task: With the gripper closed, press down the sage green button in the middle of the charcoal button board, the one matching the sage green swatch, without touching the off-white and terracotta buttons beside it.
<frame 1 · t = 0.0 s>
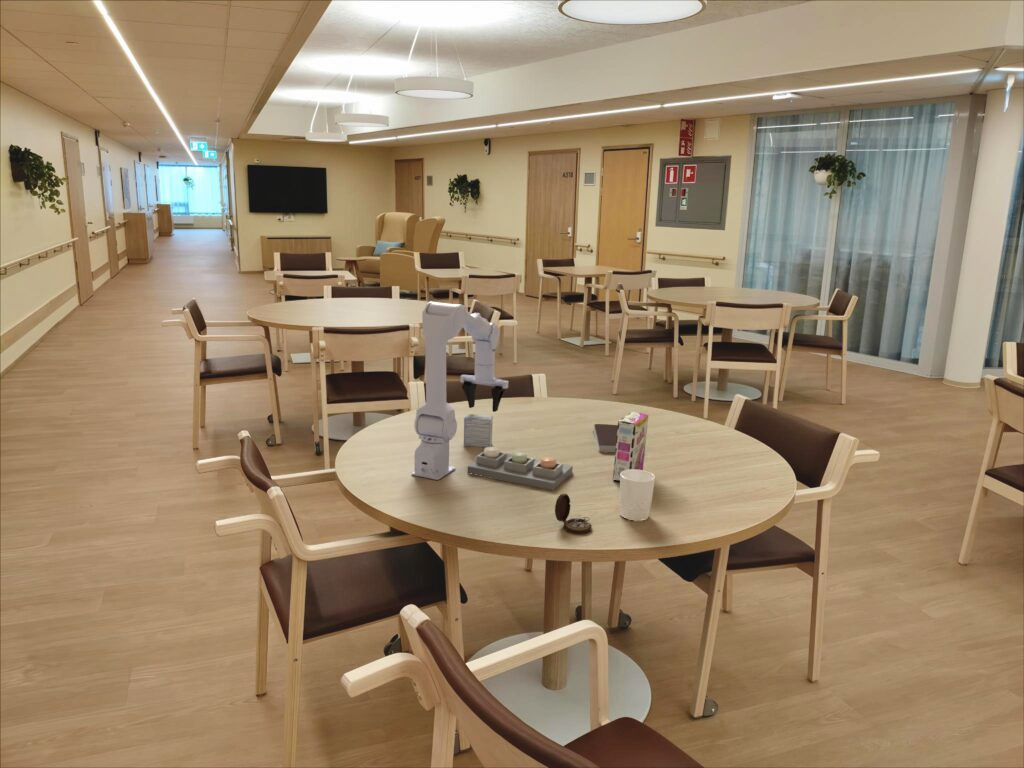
hand: (483, 409, 219), 10 cm above the table, tool pointing down, fingers open, 7 cm apart
off-white button: (491, 452, 198), point 4 cm above the table, slide at 0.0 cm
book: (615, 444, 226), on the table
button board: (520, 473, 197), on the table
white cup: (634, 516, 174), on the table
sage green button: (519, 458, 195), point 4 cm above the table, slide at 0.0 cm
medicine box: (477, 445, 219), on the table
compass: (576, 527, 167), on the table
candy bar box: (628, 477, 198), on the table
terracotta button: (547, 463, 192), point 4 cm above the table, slide at 0.0 cm
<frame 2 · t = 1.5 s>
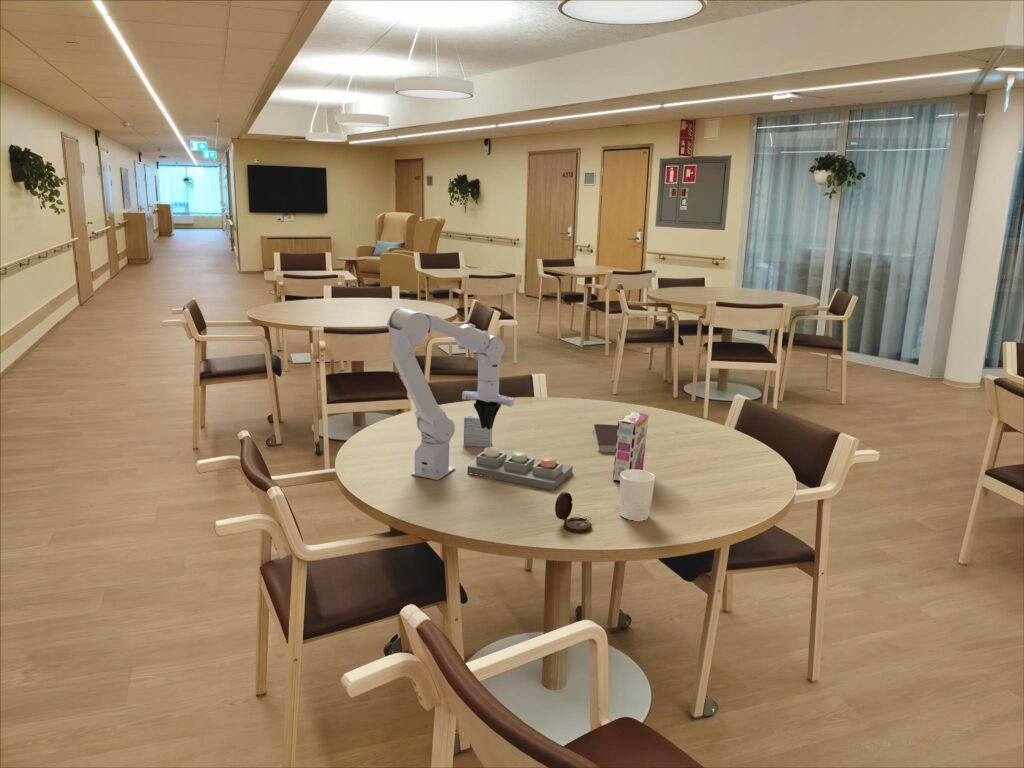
hand: (486, 428, 203), 9 cm above the table, tool pointing down, fingers closed
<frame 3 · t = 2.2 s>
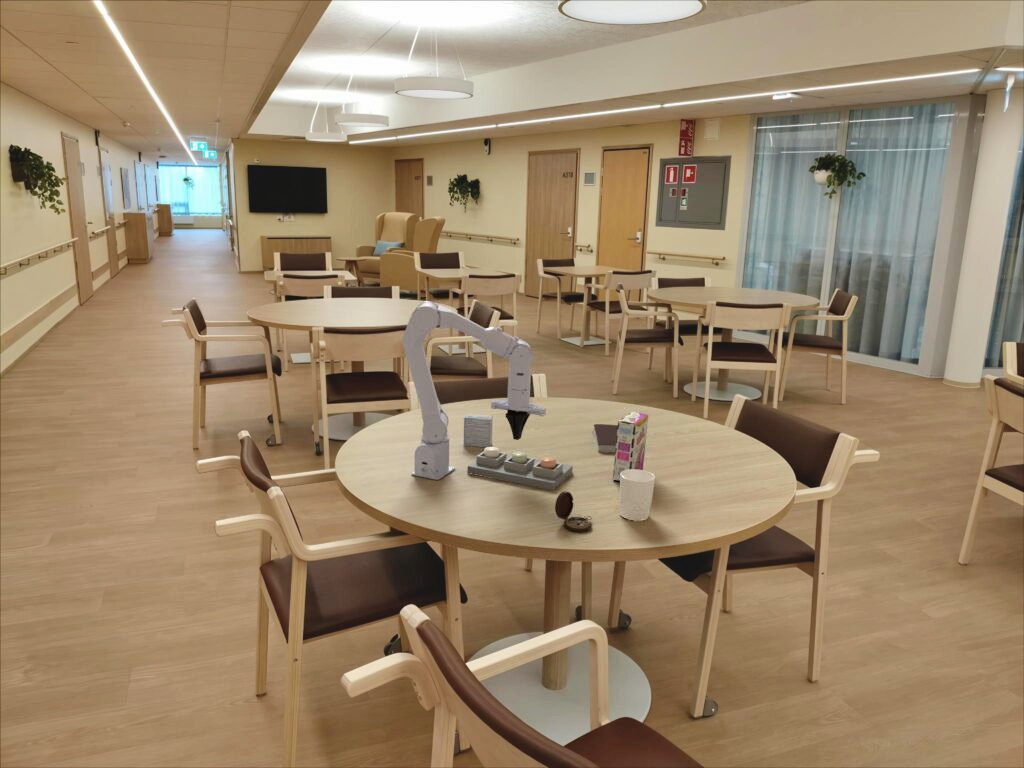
hand: (517, 438, 195), 9 cm above the table, tool pointing down, fingers closed
nothing on the table moved.
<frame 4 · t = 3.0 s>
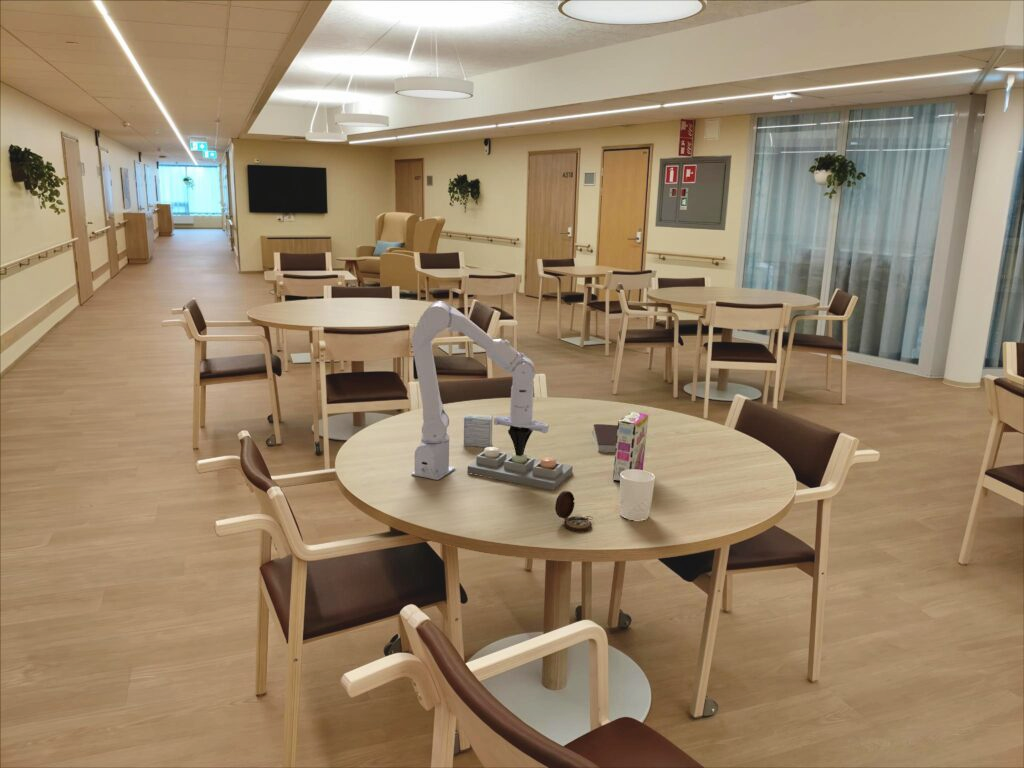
hand: (519, 454, 195), 5 cm above the table, tool pointing down, fingers closed, pressing on sage green button
sage green button: (519, 458, 195), point 4 cm above the table, slide at 0.0 cm, touching gripper
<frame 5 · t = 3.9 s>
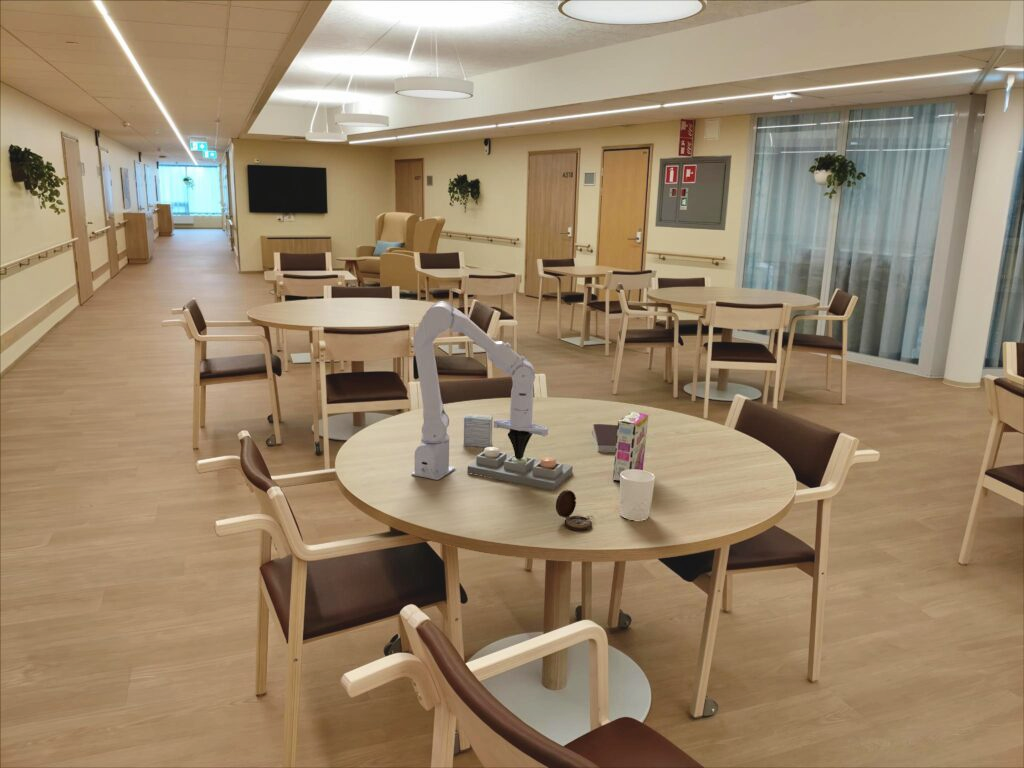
hand: (519, 457, 195), 5 cm above the table, tool pointing down, fingers closed
sage green button: (519, 462, 196), point 3 cm above the table, slide at 1.3 cm
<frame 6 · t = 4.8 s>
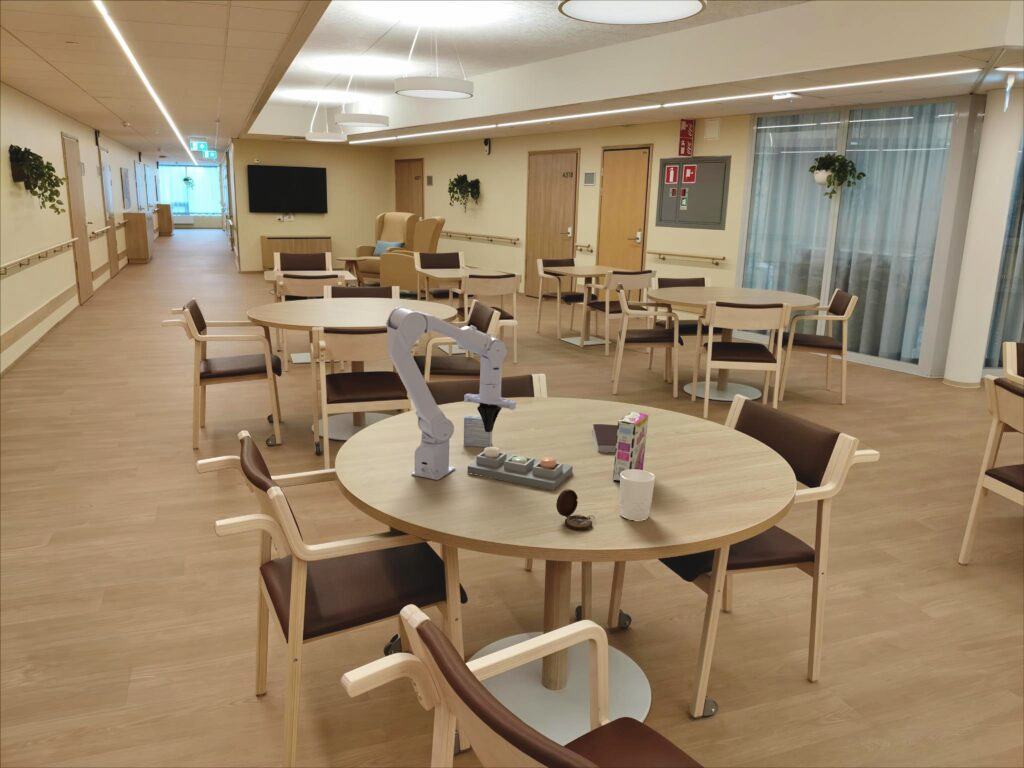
hand: (488, 431, 202), 9 cm above the table, tool pointing down, fingers closed
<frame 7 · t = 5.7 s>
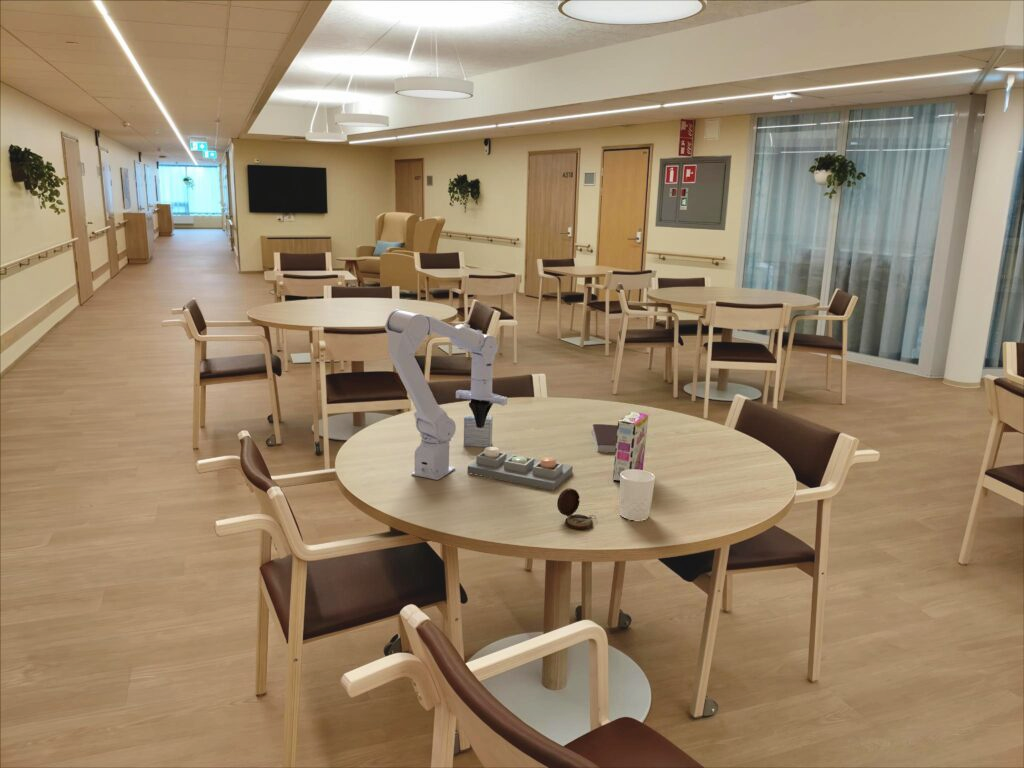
hand: (480, 426, 204), 9 cm above the table, tool pointing down, fingers closed
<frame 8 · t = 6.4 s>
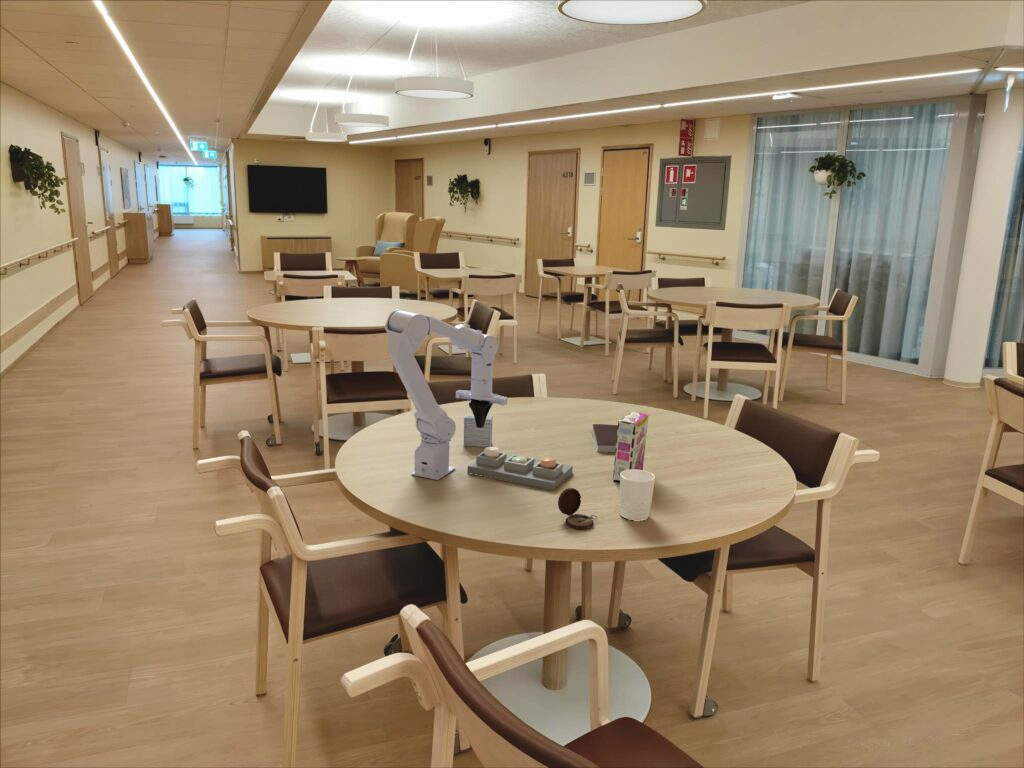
hand: (480, 426, 204), 9 cm above the table, tool pointing down, fingers closed
at the end: sage green button slide at 1.3 cm; off-white button slide at 0.0 cm; terracotta button slide at 0.0 cm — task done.
